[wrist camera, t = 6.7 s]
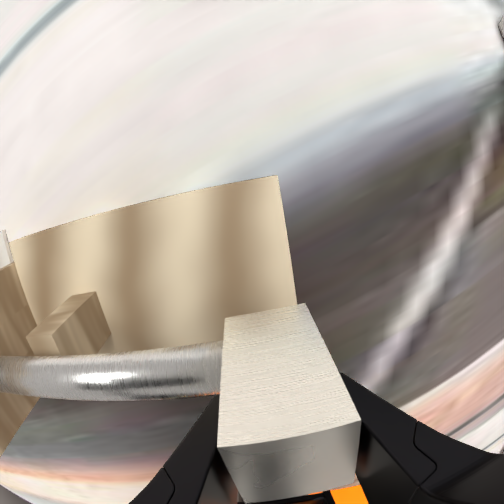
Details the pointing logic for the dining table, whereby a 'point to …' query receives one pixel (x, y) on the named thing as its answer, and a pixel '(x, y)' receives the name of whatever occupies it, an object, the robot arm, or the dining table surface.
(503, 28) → the salt shaker
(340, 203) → the dining table surface
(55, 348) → the wooden latch stand
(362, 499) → the orange juice
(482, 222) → the dining table surface
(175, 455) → the robot arm
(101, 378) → the shaft
